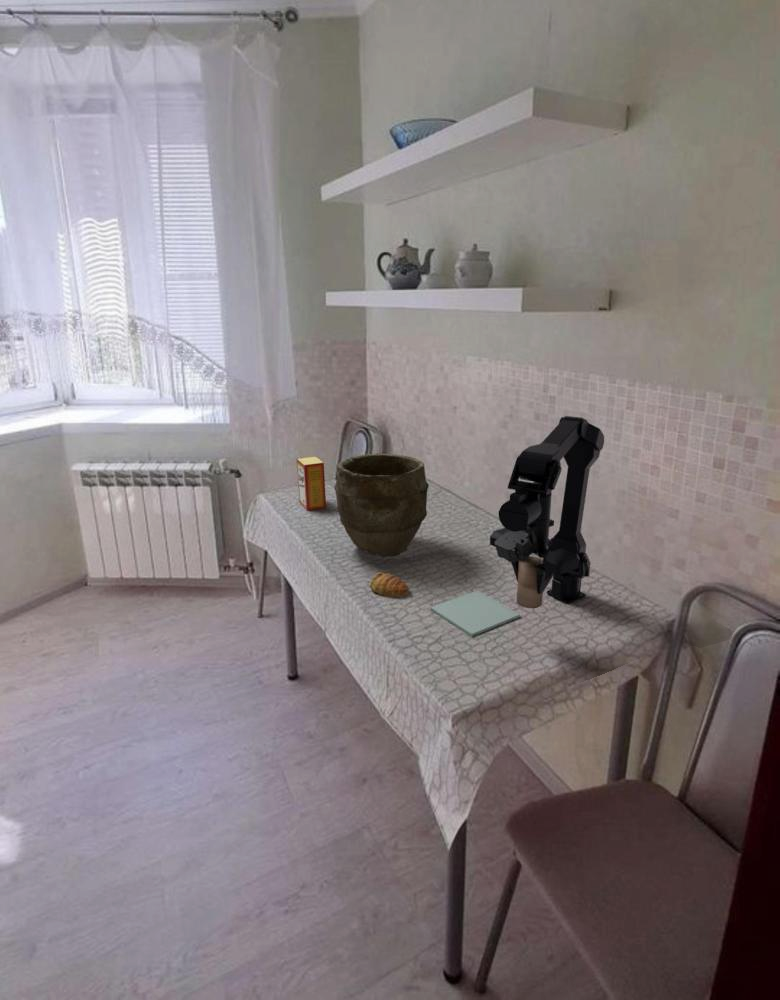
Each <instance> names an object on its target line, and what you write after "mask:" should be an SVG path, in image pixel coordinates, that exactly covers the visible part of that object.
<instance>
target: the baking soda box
mask: <svg viewBox="0 0 780 1000" xmlns="http://www.w3.org/2000/svg"><path fill="white" fill-rule="evenodd" d="M296 473H297V486H298V487H297V488H298V498H299V500H298V501H299V504H300V505H301V506H302V507H303V508H304V509H305V510H306V511H307V512H309V511H316V510H322V509H327V500H326V499H327V498H326V480H325V477H326V476H325V463H324V462H323V461H322V460H321V459H319V458H318V457H317V456H315V455H314V456H307V457H300V458H299V457H298V458H296Z"/></svg>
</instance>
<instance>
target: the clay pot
mask: <svg viewBox="0 0 780 1000" xmlns="http://www.w3.org/2000/svg"><path fill="white" fill-rule="evenodd" d="M335 473H336V475H335V476H336V481H335V484H334V487H333V488H334V490H335V497H336V503H337V505H336V507H337V511H338V515H339V521H340V523H341V525H342V526H343V527H344V529H345V532H346V533H347V535H348V537H349V539H350V540H351V541H352V543H353V544H354V545H355V546H356V547H357V548H359V549H360V550H361V551H362V552H366V553H369V554H371V555H373V556H378V557H381V558H392V557H398V556H399V555H400V554H403V553H405V552H406V551H407V549H408V547H409V545H410V544H411V542H412V541H413V539H414V538H415V537H416V534H417V533H418V531H419V529H420V528H421V525H422V523H423V521H424V520H425V519H426V517H427V515H428V512H427V511H428V510H427V500H428V490H429V487H430V485H429V483H428V481H427V479H426V469H425V463H424V462H423V461H422V460H421V459H418V458H416V457H412V456H407V455H400V454H395V453H380V452H379V453H375V454H374V453H368V454H361V455H355V456H351V457H350V458H346V459H345V460H342V461H339V463H337V464H336V472H335Z"/></svg>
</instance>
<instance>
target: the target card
mask: <svg viewBox="0 0 780 1000" xmlns="http://www.w3.org/2000/svg"><path fill="white" fill-rule="evenodd" d="M429 610H430V611H432V612H433V613H434V614H436V615H438V616H439V617H440V618H441V619H442V618H443V619H444V620H446V621H447V622H448V623H450V624H452V625H453V626H455V627H456V628H458V629H459V630H461V631H463V632H464V633H466V634H467V635H468V636H470V637H473V636H476V635H479V634H481V633H484V632H486V631H488V630H491V629H494V628H496V627H498V625H499V626H501V625H504V624H506V623H509V622H511V621H513V620H515V619H518V618H521V614H520V613H519V612H516V611H515V610H513V609H511V608H510V607H508V606H506V605H504V604H503V603H501V602H498V601H497V600H495V599H493V598H491V597H489V596H488V595H486V594H484V593H482V592H480V591H478V590H475V591H472V592H469V593H467V594H464V595H460V596H459V597H456V598H453V599H450V600H448V601H447V600H446V601H444V602H441V603H439V604H435V605H433V606H430V609H429Z"/></svg>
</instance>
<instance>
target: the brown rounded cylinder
mask: <svg viewBox="0 0 780 1000" xmlns="http://www.w3.org/2000/svg"><path fill="white" fill-rule="evenodd" d="M541 561H542V558H540V557H538V556H534V555H533V556H531V555H530V556H528V557H527V558H526V559H522V558H520V559H519V567H518V582H517V586H516V587H517V589H516V590H517V591H516V604H517V605H518V606H520V607H522V608H525V609H537V608H540V607H541V606H543V597H544V596H543V594H544V592H543V593H542V594H538V591H537V580H538V571H537V570H536V569H535V568H534V566H535V565H538V564H541Z"/></svg>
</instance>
